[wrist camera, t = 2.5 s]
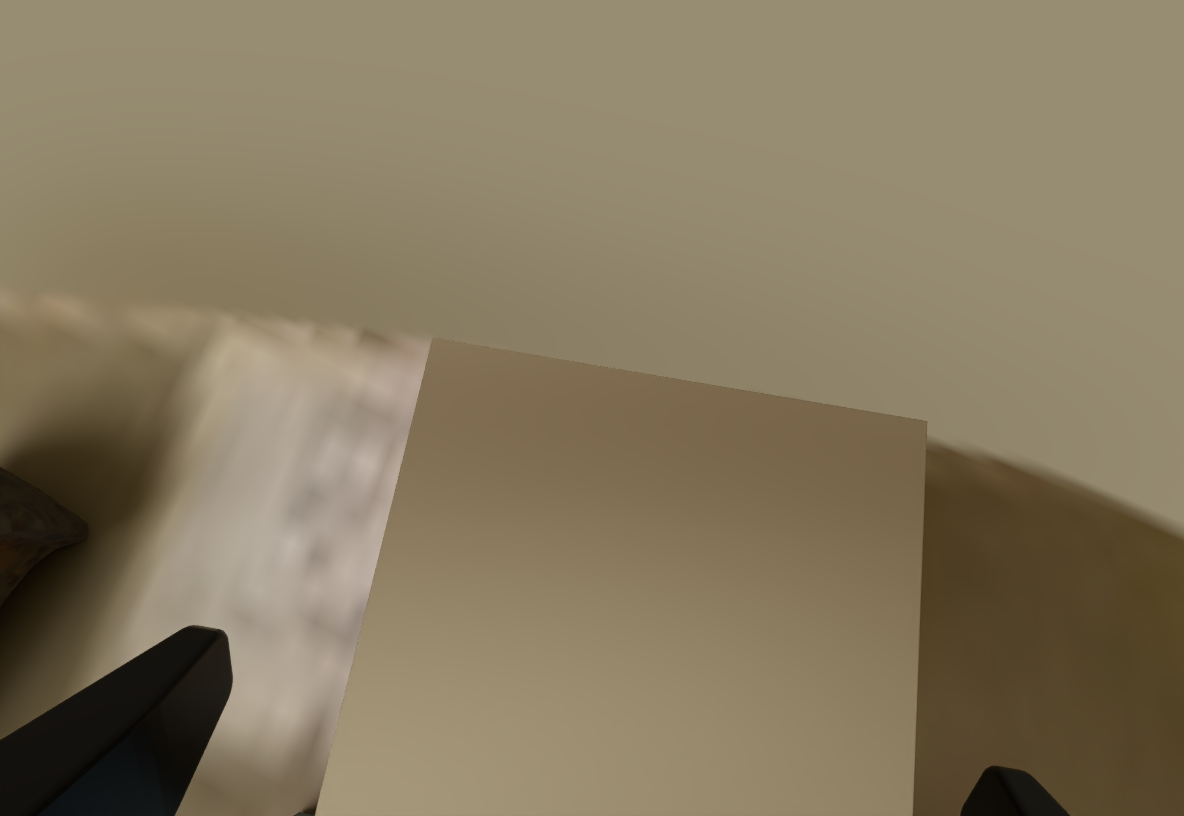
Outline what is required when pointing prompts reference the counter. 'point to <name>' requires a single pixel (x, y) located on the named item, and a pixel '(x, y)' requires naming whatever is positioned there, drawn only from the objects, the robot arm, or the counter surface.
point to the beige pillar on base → (636, 603)
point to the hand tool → (30, 529)
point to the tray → (303, 814)
